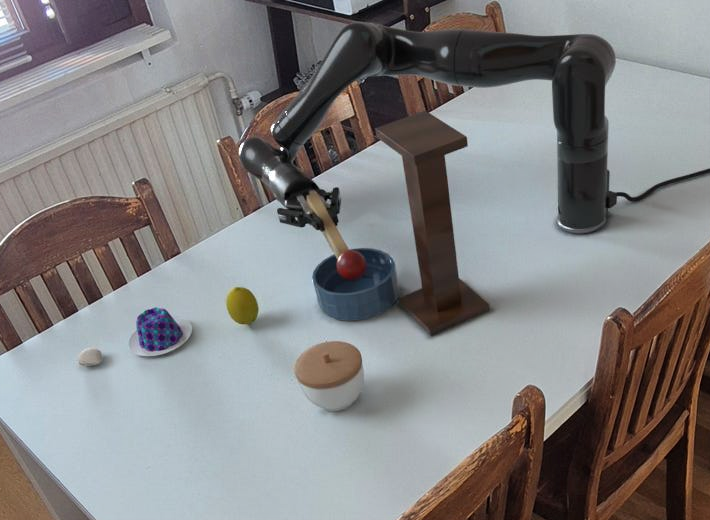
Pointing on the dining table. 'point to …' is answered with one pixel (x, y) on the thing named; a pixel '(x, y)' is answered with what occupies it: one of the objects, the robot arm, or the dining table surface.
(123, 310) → the dining table surface
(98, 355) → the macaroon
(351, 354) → the trinket box
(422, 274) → the plant stand
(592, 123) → the robot arm
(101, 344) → the dining table surface
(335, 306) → the bowl
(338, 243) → the mallet
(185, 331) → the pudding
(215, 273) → the dining table surface
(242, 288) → the lemon
